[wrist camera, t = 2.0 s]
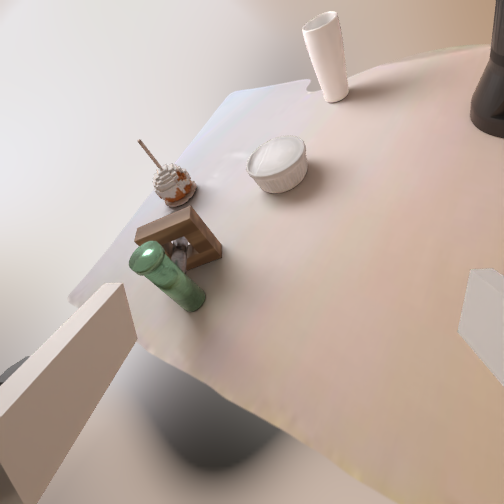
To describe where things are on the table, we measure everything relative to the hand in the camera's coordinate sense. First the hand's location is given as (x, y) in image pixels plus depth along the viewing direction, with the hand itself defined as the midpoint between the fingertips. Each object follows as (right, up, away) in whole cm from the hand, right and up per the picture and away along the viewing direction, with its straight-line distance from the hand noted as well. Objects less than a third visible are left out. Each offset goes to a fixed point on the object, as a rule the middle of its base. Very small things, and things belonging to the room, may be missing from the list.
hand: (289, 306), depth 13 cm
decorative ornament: (-17, +15, +59) cm, 63 cm away
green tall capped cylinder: (-11, -2, +41) cm, 43 cm away
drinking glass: (+17, +36, +57) cm, 70 cm away
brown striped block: (-11, +1, +44) cm, 45 cm away
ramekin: (+5, +16, +48) cm, 51 cm away
